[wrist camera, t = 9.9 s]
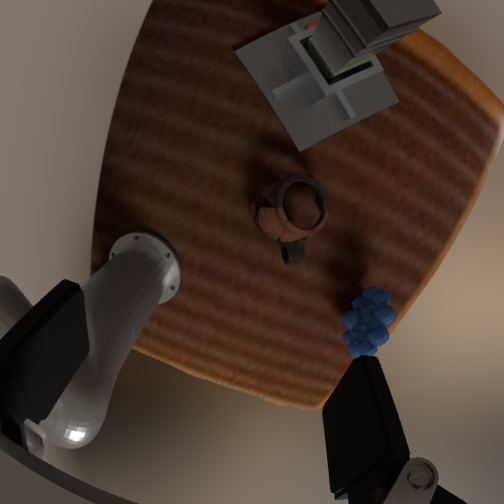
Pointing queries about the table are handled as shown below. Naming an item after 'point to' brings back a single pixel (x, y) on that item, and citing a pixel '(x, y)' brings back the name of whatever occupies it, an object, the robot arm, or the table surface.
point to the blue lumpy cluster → (368, 322)
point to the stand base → (312, 85)
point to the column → (362, 31)
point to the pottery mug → (277, 222)
